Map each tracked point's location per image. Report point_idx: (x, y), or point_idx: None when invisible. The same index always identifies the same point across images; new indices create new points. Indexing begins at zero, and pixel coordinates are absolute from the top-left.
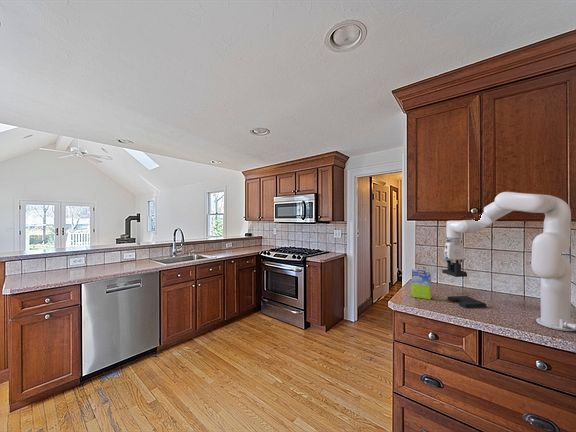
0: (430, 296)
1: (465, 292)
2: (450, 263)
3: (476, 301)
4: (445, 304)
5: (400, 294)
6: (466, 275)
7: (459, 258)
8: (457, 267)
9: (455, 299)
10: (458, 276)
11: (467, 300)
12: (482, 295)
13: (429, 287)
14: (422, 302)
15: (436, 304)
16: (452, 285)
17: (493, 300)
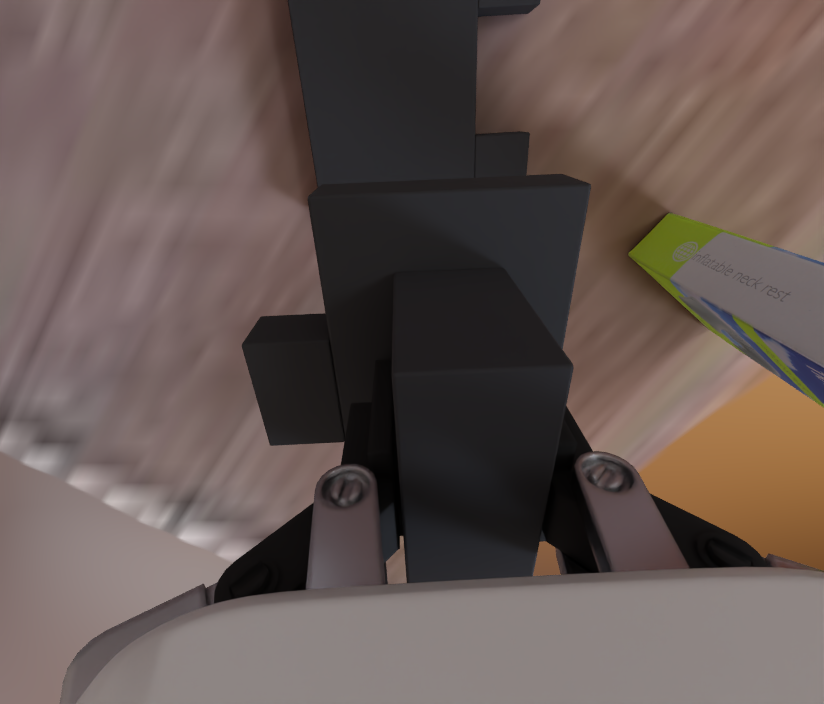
0: (685, 220)
1: (230, 395)
2: (636, 485)
3: (338, 3)
4: (649, 54)
5: None
6: (333, 185)
7: (414, 633)
8: (509, 318)
9: (496, 134)
10: (507, 178)
11: (417, 52)
12: (124, 321)
13: (764, 243)
14: (811, 133)
15: (738, 58)
16: (238, 534)
17: (85, 174)
